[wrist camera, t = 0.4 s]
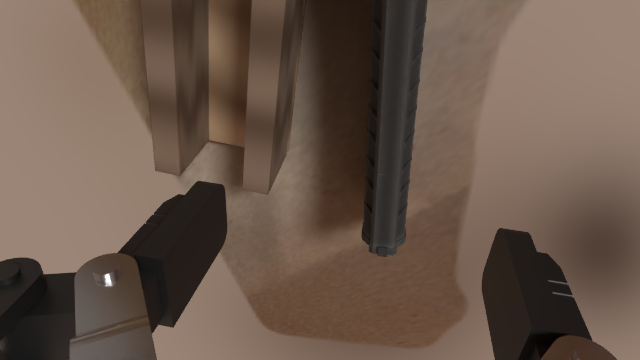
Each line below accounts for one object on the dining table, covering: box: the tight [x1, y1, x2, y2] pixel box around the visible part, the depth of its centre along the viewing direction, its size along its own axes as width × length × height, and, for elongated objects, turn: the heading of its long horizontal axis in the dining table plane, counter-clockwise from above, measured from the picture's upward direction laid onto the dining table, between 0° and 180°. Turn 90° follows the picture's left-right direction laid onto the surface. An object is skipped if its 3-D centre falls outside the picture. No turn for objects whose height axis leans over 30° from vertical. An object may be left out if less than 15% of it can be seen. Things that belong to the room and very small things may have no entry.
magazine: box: [362, 0, 427, 257], centre depth 28 cm, size 17×3×30 cm
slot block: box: [140, 0, 306, 195], centre depth 29 cm, size 24×9×7 cm, turn 172°
